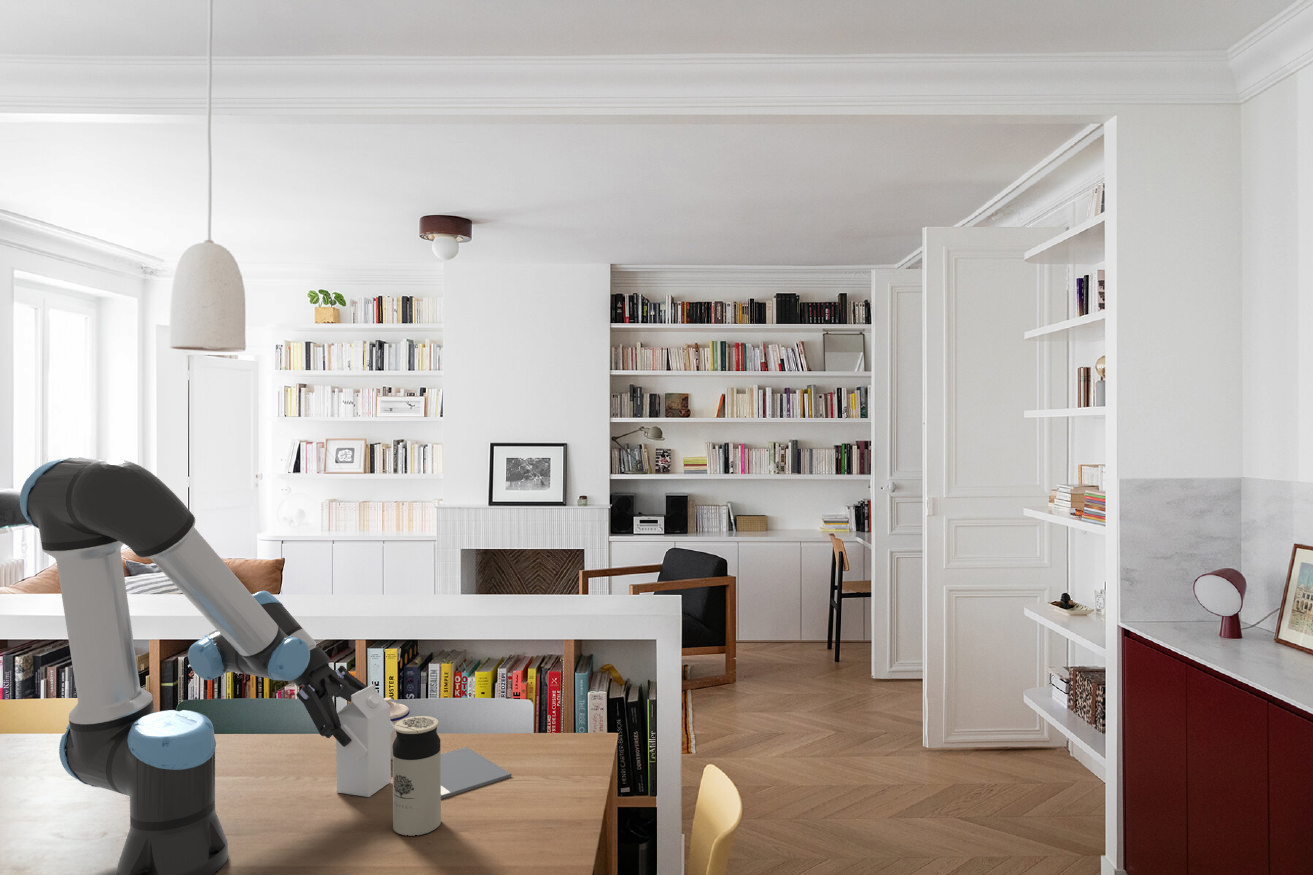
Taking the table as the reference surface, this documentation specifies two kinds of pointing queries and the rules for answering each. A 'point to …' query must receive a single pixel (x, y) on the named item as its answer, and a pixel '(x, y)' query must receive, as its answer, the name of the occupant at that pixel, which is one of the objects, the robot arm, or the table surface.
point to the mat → (467, 771)
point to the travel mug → (416, 776)
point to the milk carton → (365, 744)
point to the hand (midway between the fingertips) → (377, 743)
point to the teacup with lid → (396, 717)
